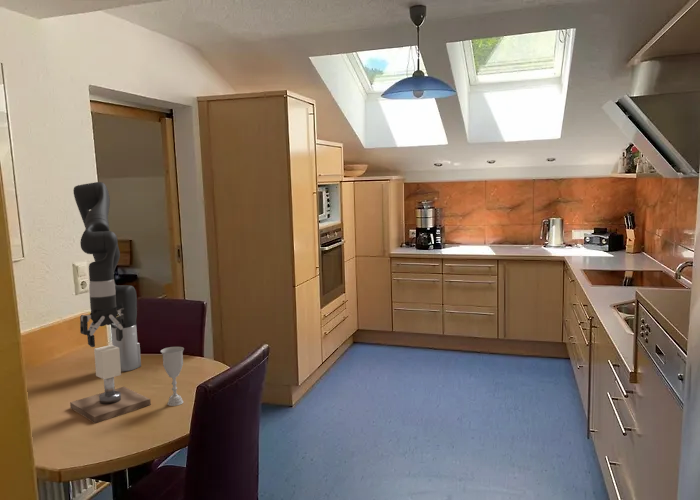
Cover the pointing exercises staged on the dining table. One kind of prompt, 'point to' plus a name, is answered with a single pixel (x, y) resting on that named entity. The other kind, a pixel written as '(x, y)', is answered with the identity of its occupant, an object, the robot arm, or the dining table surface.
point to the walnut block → (109, 405)
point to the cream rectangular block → (107, 361)
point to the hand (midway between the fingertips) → (105, 343)
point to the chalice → (173, 370)
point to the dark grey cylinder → (109, 393)
